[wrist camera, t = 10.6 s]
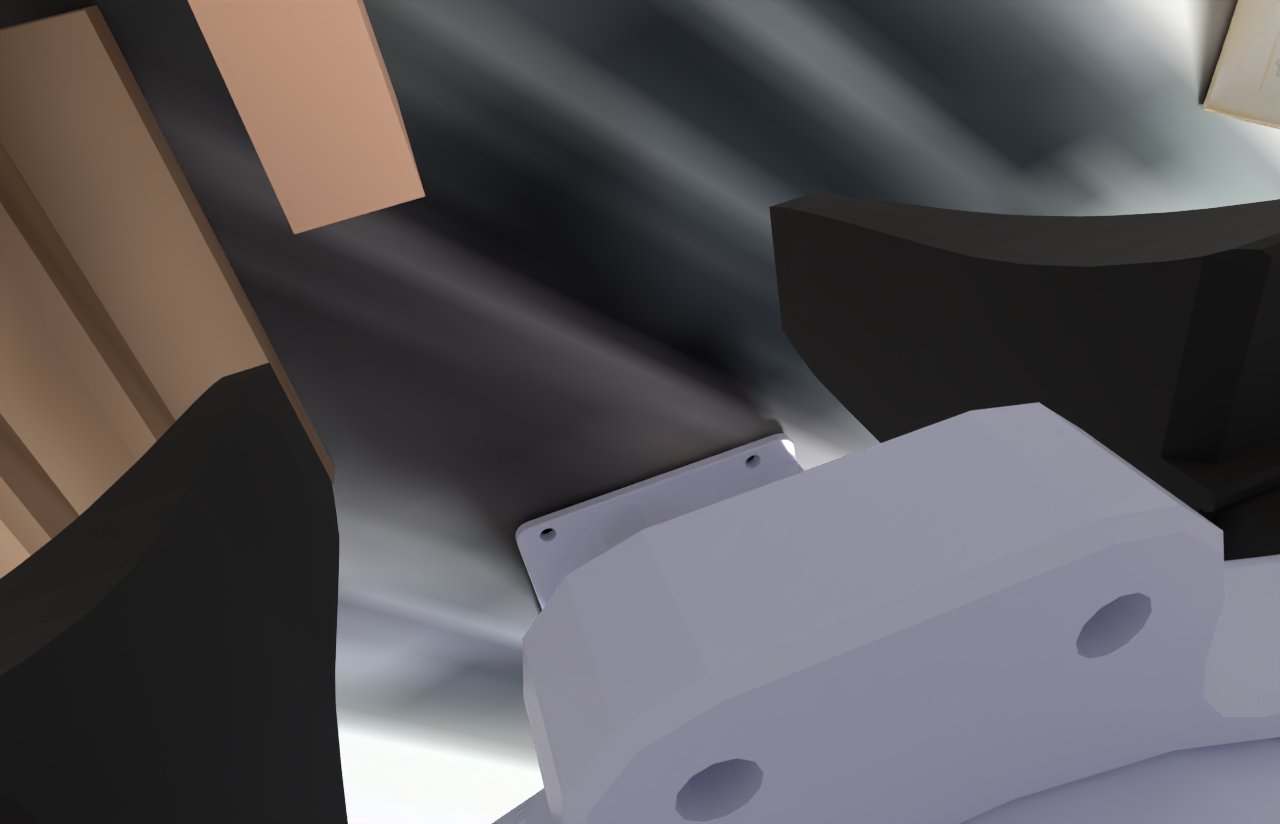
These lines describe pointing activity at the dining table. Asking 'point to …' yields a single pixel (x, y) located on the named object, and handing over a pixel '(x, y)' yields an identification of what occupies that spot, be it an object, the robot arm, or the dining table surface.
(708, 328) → the dining table surface
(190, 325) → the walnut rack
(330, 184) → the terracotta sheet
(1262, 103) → the coffeecake box
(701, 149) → the dining table surface
